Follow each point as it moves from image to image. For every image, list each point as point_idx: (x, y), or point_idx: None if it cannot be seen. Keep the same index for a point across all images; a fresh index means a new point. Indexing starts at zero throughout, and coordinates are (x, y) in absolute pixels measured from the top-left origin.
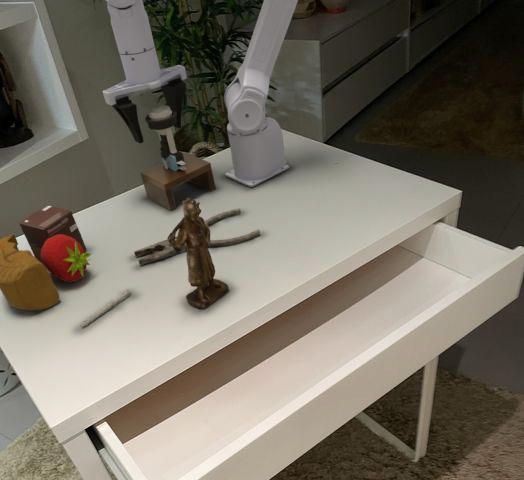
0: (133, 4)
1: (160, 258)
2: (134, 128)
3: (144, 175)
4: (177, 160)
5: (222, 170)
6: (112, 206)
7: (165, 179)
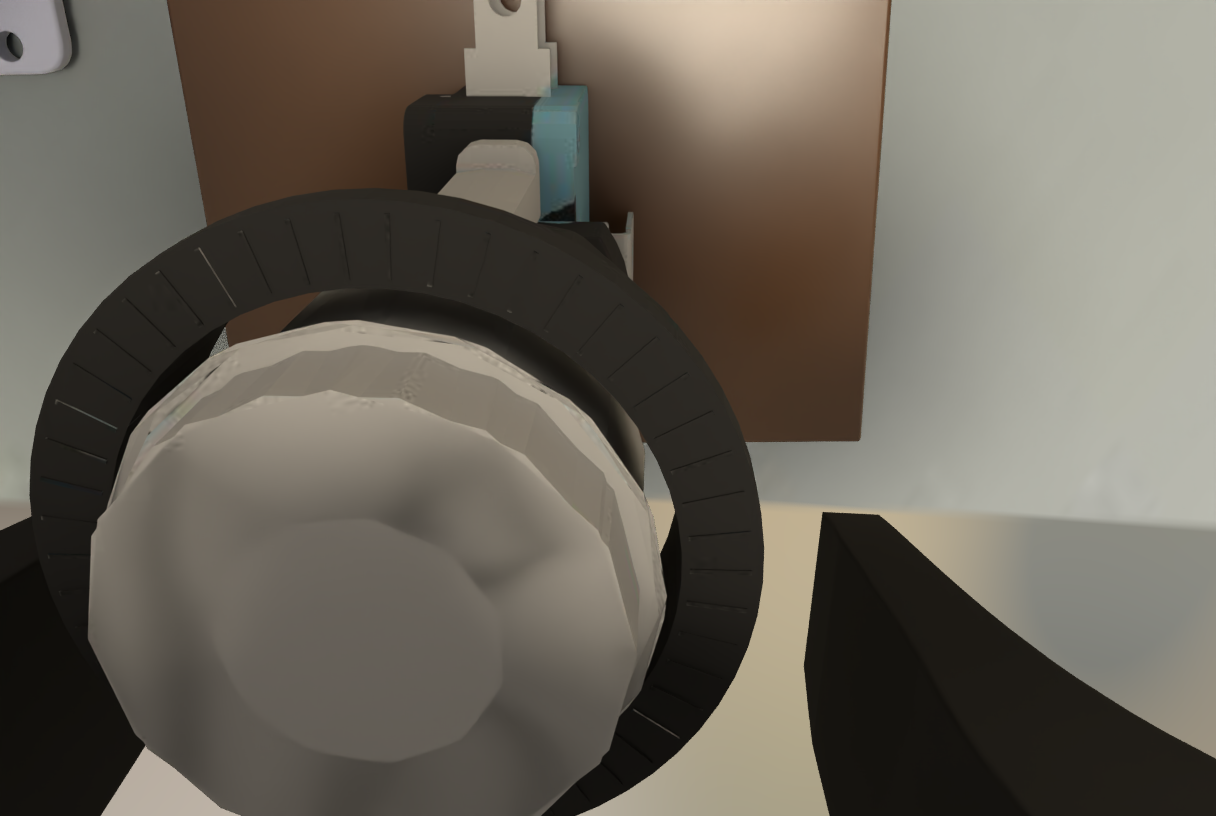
0: None
1: None
2: (1017, 636)
3: (866, 353)
4: (519, 99)
5: (43, 212)
6: (1096, 463)
7: (796, 9)
